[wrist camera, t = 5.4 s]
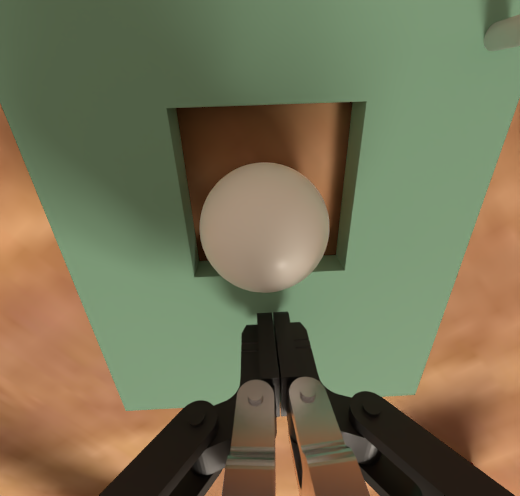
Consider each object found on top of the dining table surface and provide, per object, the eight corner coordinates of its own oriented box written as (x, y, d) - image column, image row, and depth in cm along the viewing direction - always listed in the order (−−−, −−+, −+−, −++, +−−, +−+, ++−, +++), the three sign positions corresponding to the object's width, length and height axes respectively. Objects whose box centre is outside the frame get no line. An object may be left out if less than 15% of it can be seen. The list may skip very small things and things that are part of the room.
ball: (329, 297, 12) (307, 202, 14) (362, 254, 8) (324, 123, 10) (216, 311, 12) (210, 214, 14) (183, 277, 8) (181, 140, 10)
